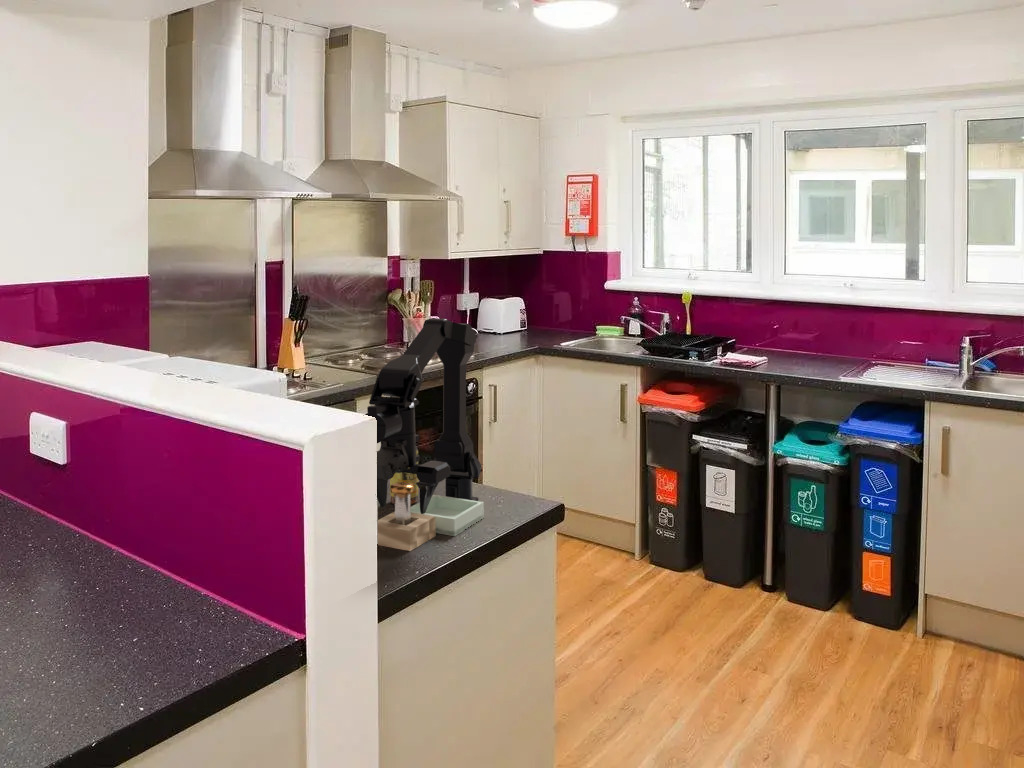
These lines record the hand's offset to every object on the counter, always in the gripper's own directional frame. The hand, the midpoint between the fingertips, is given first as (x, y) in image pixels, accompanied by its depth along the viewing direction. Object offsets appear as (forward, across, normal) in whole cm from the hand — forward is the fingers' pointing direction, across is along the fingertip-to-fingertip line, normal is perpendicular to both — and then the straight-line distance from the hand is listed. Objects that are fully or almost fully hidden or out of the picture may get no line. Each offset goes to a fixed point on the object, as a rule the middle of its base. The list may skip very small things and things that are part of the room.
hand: (402, 510), depth 172 cm
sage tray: (+6, +2, +12) cm, 14 cm away
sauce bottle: (+6, -13, +20) cm, 25 cm away
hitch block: (+6, 0, 0) cm, 6 cm away
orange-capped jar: (+6, 0, 0) cm, 6 cm away
